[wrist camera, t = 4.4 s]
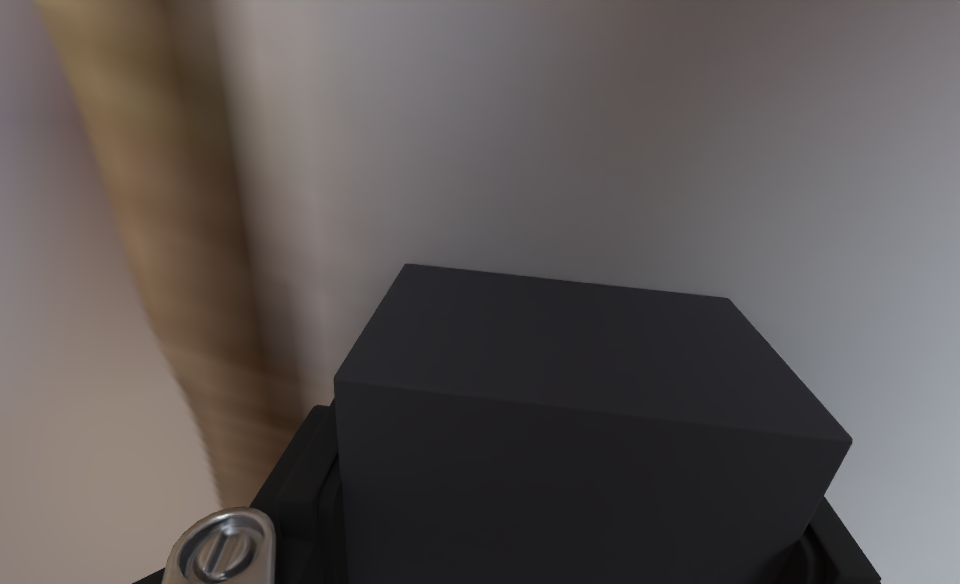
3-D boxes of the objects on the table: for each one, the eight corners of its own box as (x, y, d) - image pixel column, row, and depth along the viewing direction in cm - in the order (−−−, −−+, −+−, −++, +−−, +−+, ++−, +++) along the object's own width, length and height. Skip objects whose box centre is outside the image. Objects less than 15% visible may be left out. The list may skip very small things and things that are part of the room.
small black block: (404, 262, 10) (331, 376, 6) (729, 297, 9) (857, 440, 6) (402, 491, 12) (351, 663, 9) (652, 524, 12) (705, 716, 9)
